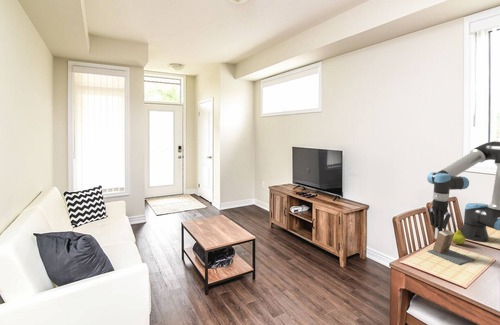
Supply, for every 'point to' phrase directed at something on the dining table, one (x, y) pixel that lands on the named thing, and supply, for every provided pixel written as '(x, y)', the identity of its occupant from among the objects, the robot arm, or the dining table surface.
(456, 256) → the felt pad
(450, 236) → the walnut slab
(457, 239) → the fruit
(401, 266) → the dining table surface
